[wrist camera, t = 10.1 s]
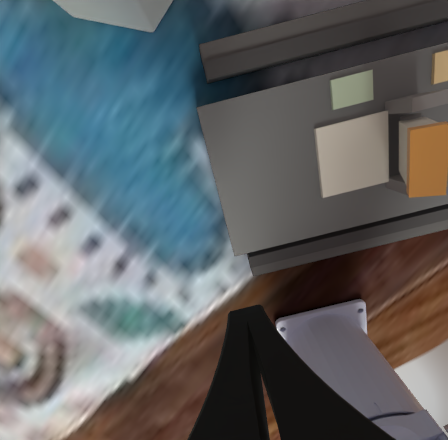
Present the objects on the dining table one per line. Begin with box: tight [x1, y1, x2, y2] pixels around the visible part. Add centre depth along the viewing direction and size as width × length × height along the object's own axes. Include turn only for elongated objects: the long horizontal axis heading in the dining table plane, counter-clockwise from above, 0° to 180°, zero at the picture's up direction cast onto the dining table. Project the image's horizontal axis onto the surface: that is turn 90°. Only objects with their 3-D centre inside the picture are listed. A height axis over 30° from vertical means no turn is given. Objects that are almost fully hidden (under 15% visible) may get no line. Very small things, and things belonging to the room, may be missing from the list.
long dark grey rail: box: [199, 0, 448, 84], centre depth 15 cm, size 2×22×2 cm, turn 103°
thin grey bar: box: [247, 204, 448, 276], centre depth 20 cm, size 2×22×2 cm, turn 104°
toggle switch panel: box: [197, 42, 448, 256], centre depth 16 cm, size 10×28×4 cm, turn 103°
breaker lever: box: [399, 113, 448, 198], centre depth 14 cm, size 3×1×5 cm, turn 13°
